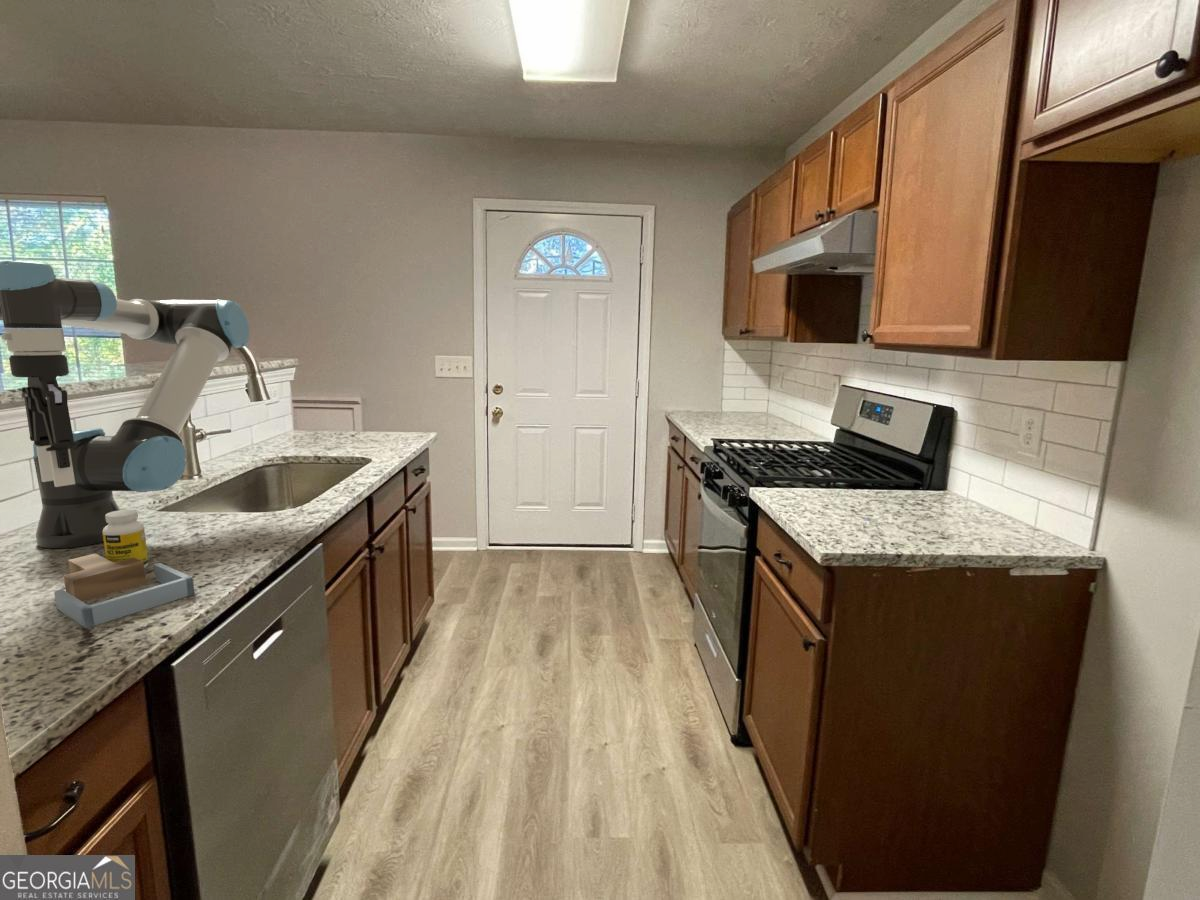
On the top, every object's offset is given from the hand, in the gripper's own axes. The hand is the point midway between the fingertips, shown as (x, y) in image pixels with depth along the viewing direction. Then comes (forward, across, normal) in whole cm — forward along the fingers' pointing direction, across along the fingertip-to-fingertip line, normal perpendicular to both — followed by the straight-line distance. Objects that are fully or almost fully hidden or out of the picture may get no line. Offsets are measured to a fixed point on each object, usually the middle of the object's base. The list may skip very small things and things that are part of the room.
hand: (58, 482), depth 112 cm
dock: (+17, +24, 0) cm, 29 cm away
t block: (+17, +12, 0) cm, 21 cm away
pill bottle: (+17, +8, +6) cm, 20 cm away
